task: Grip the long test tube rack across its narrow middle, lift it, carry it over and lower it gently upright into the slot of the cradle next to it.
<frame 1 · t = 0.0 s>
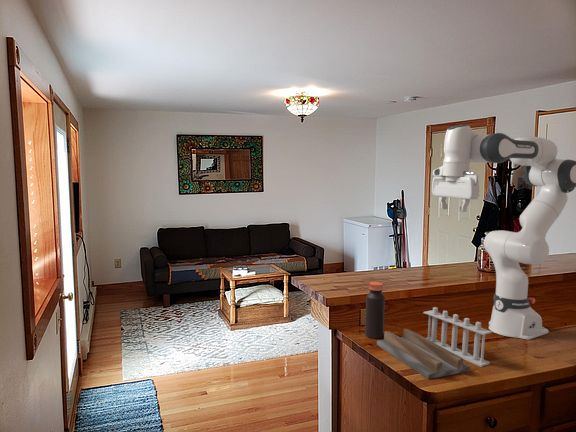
hand: (453, 210, 163), 48 cm above the table, tool pointing down, fingers open, 8 cm apart
bottle: (374, 336, 172), on the table
cradle: (420, 357, 153), on the table
test tube rack: (453, 352, 158), on the table
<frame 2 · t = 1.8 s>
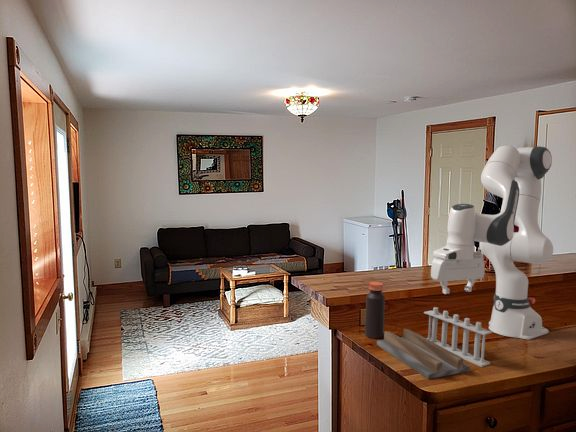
hand: (457, 292, 156), 21 cm above the table, tool pointing down, fingers open, 8 cm apart
nothing on the table moved.
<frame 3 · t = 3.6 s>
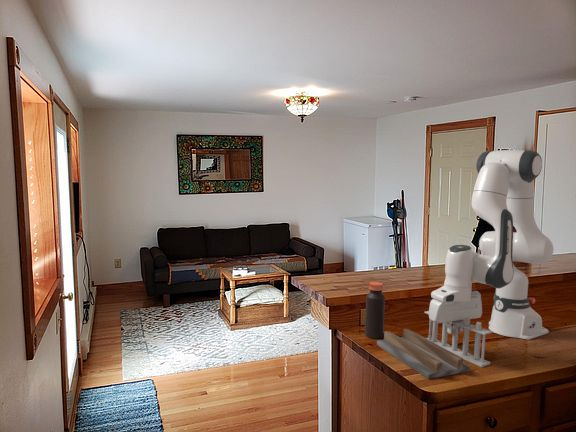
hand: (454, 332, 158), 7 cm above the table, tool pointing down, fingers closed on test tube rack, 2 cm apart
test tube rack: (454, 352, 158), on the table, touching gripper
everything else where it was.
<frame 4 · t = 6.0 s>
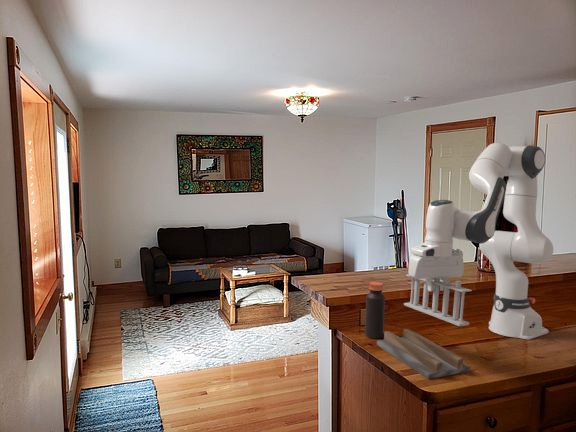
hand: (435, 290, 152), 22 cm above the table, tool pointing down, fingers closed on test tube rack, 2 cm apart
test tube rack: (434, 314, 153), point 14 cm above the table, touching gripper
everything else where it was.
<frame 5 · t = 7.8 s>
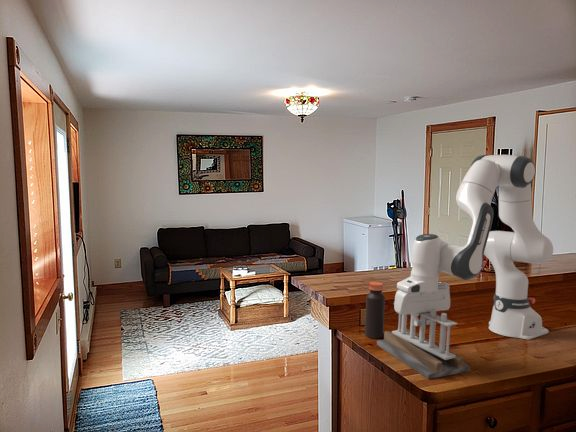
hand: (421, 324, 152), 11 cm above the table, tool pointing down, fingers closed on test tube rack, 2 cm apart
test tube rack: (421, 345, 152), point 4 cm above the table, touching cradle, gripper
everything else where it was.
when the fingers open (11 cm above the table, at t = 8.3 s): test tube rack drops 3 cm, resting on cradle.
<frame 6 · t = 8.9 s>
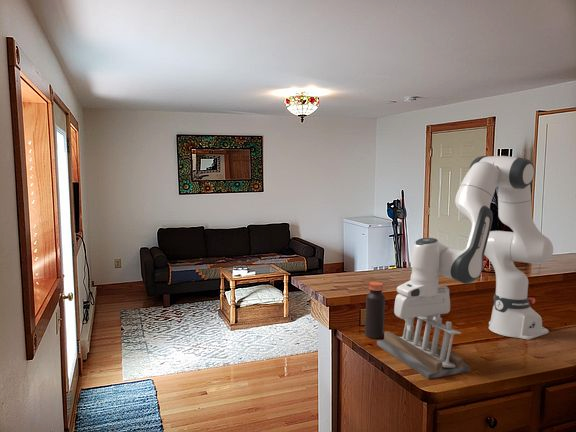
hand: (421, 328, 152), 10 cm above the table, tool pointing down, fingers open, 8 cm apart
test tube rack: (423, 352, 153), point 2 cm above the table, touching cradle, gripper
everything else where it was.
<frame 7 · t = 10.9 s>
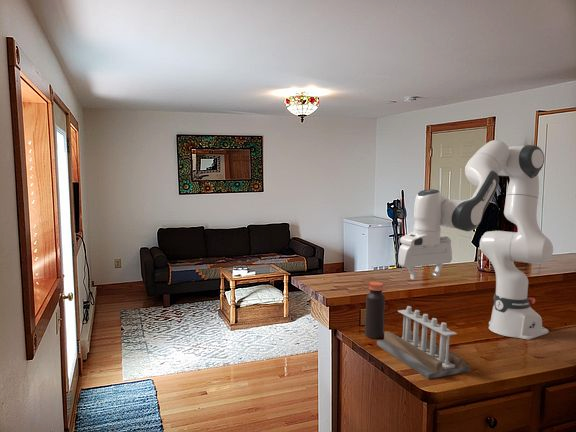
hand: (424, 277, 157), 25 cm above the table, tool pointing down, fingers open, 8 cm apart
test tube rack: (423, 353, 153), point 1 cm above the table, touching cradle
everything else where it was.
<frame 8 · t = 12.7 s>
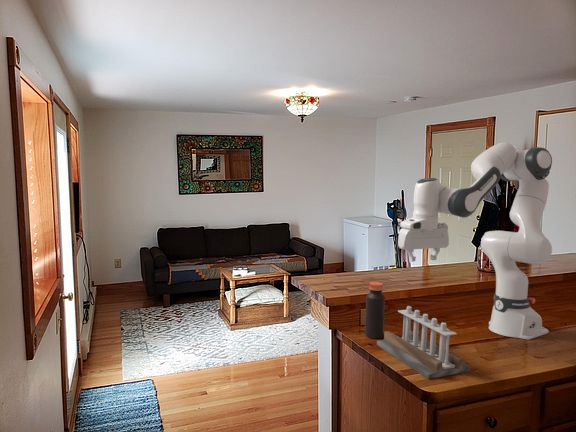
hand: (422, 260, 168), 29 cm above the table, tool pointing down, fingers open, 8 cm apart
nothing on the table moved.
at the end: test tube rack 0.9 cm off-centre on the cradle, point 1.3 cm above the cradle's base; test tube rack tilted 0°; the gripper is holding nothing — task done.
